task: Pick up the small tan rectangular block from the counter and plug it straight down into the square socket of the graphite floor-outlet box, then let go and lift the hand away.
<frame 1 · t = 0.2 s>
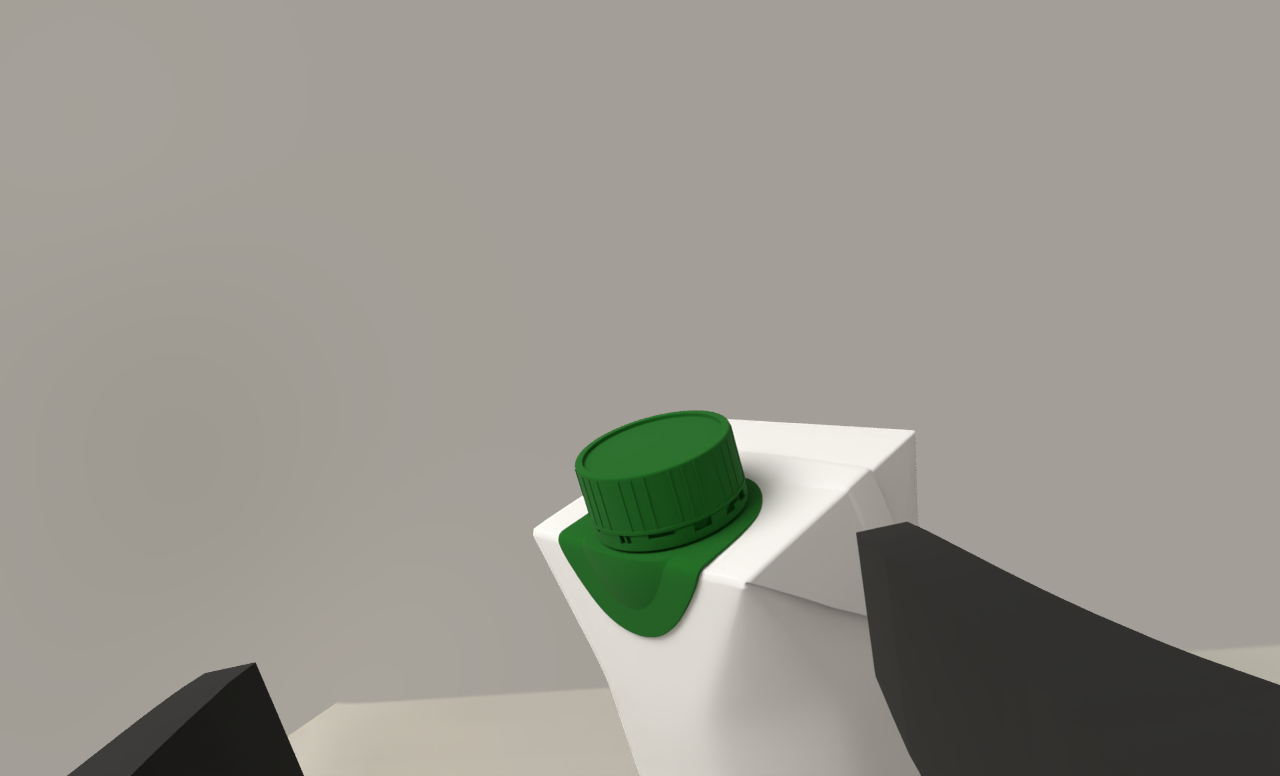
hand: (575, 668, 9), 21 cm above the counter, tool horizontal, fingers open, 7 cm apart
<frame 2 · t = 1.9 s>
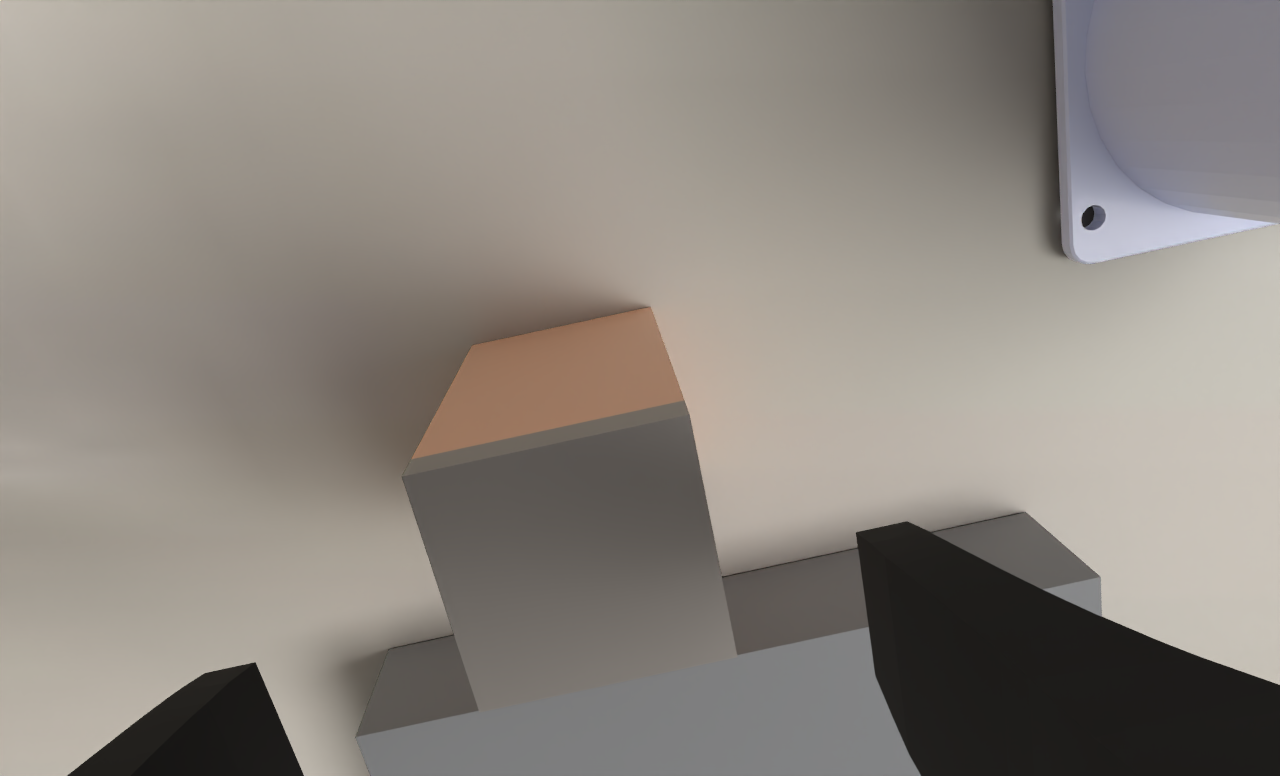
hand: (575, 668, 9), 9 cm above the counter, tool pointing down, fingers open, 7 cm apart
tan rectangular block: (581, 410, 18), on the counter
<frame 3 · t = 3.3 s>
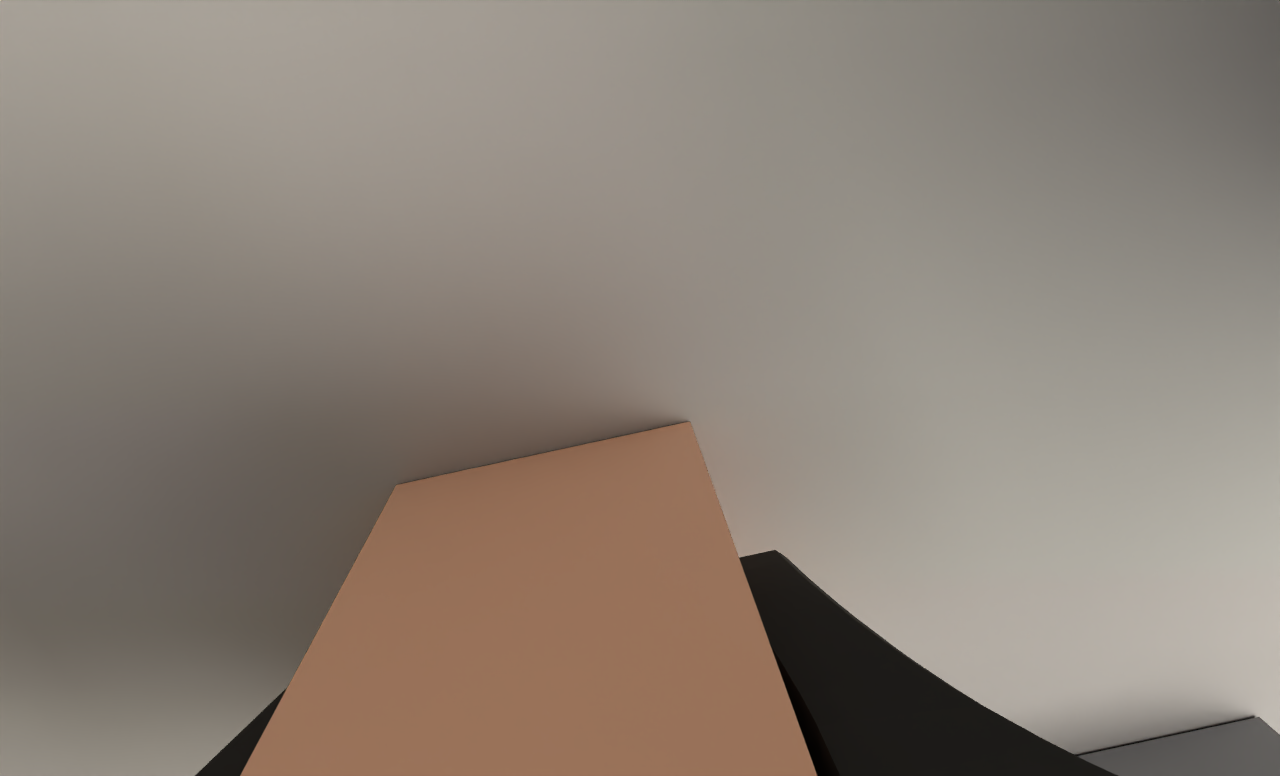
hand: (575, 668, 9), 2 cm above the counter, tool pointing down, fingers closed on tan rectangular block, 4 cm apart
tan rectangular block: (576, 581, 11), on the counter, touching gripper
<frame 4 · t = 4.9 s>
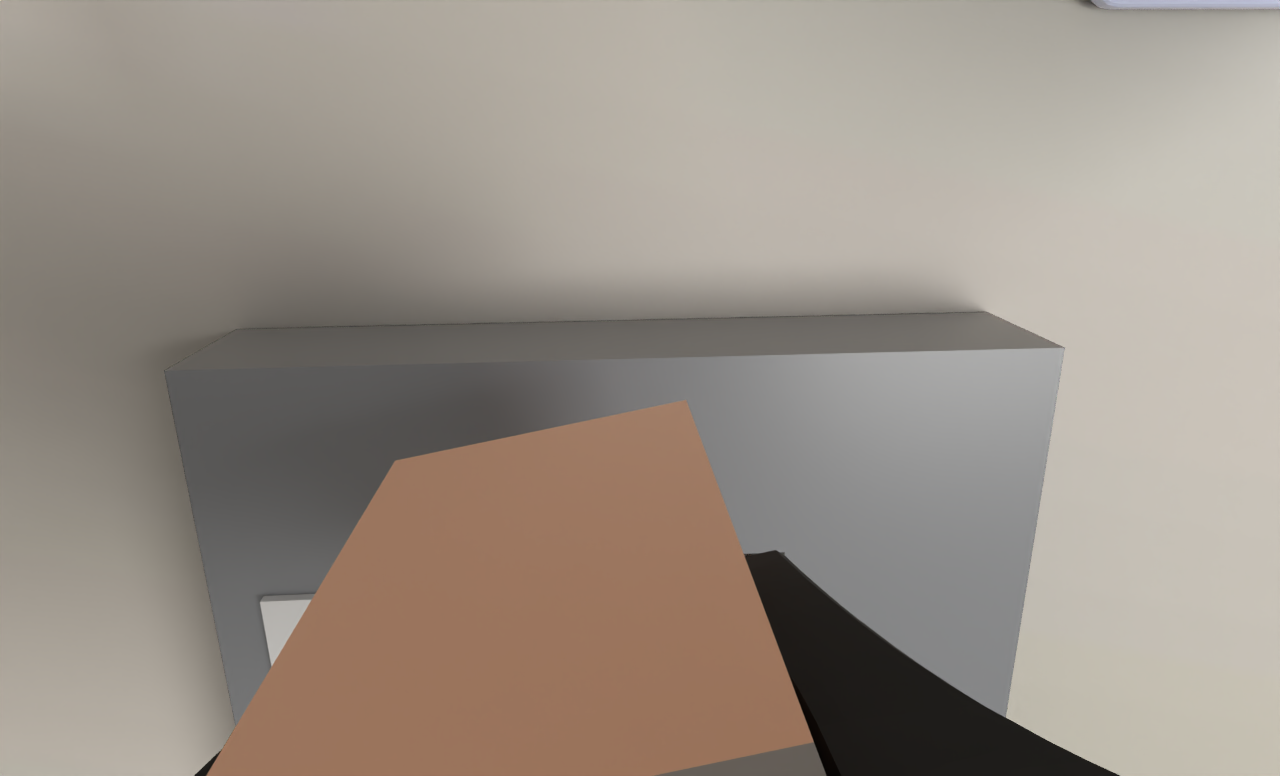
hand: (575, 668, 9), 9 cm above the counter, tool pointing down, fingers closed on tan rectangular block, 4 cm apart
outlet box: (626, 605, 19), on the counter
tan rectangular block: (573, 559, 11), point 7 cm above the counter, touching gripper
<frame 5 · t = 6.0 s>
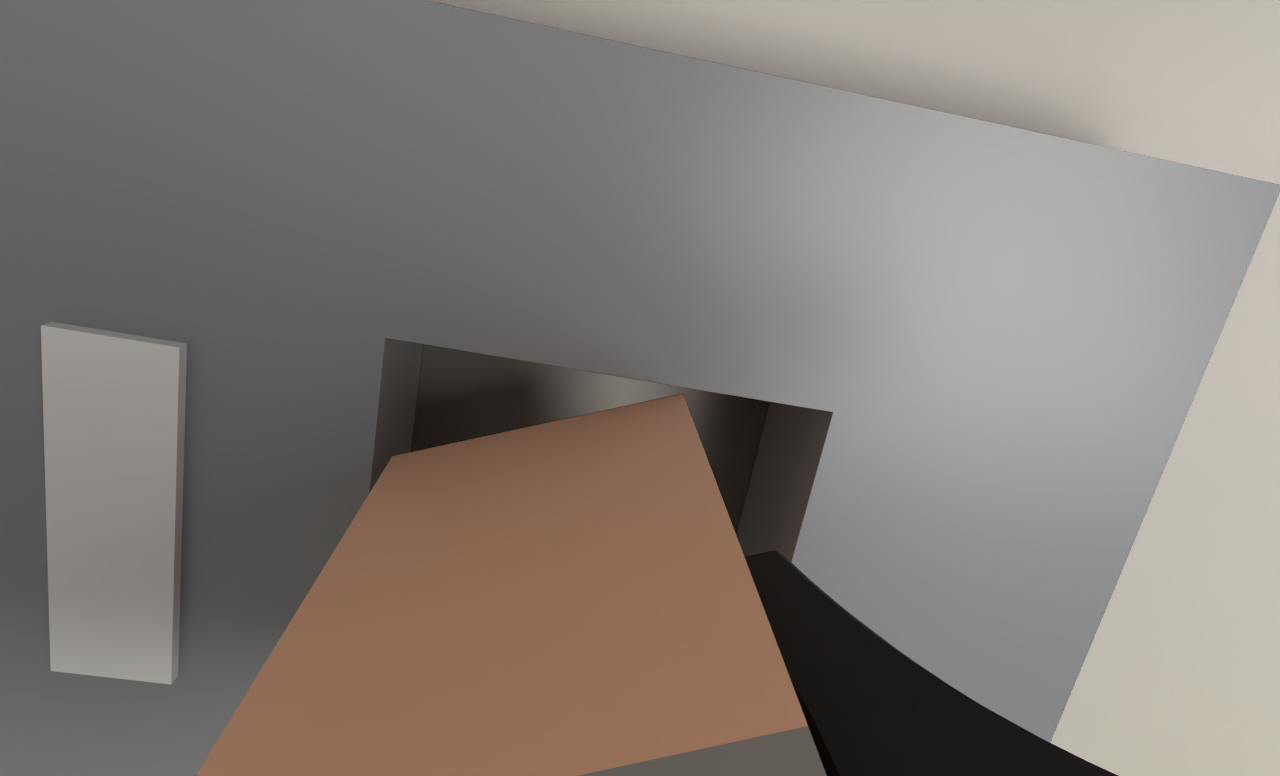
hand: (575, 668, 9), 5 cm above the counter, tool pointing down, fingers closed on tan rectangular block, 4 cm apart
outlet box: (580, 485, 14), on the counter
tan rectangular block: (571, 554, 11), point 3 cm above the counter, touching gripper
when the fingers open (4 cm above the counter, at t = 6.7 s): tan rectangular block drops 2 cm, resting in outlet box.
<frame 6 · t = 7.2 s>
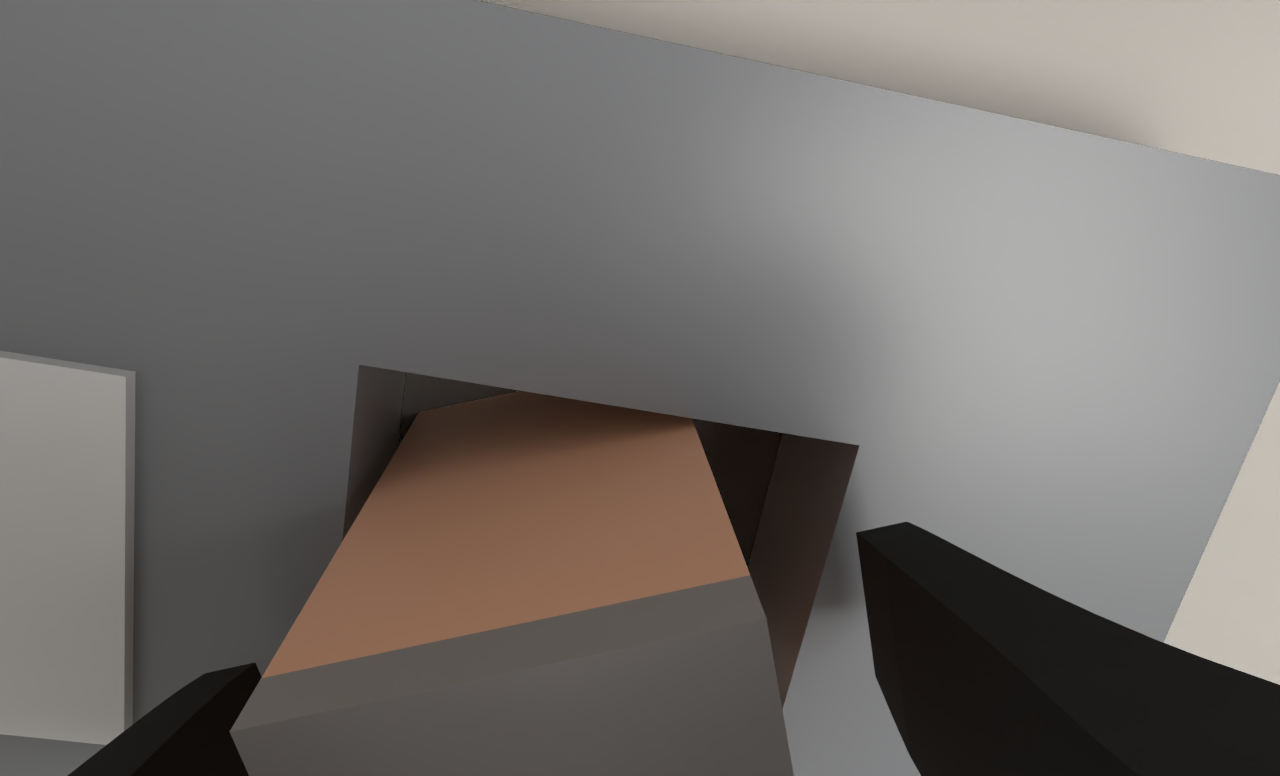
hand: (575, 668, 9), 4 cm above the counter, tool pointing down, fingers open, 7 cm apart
outlet box: (578, 517, 13), on the counter
tan rectangular block: (572, 499, 13), resting in outlet box
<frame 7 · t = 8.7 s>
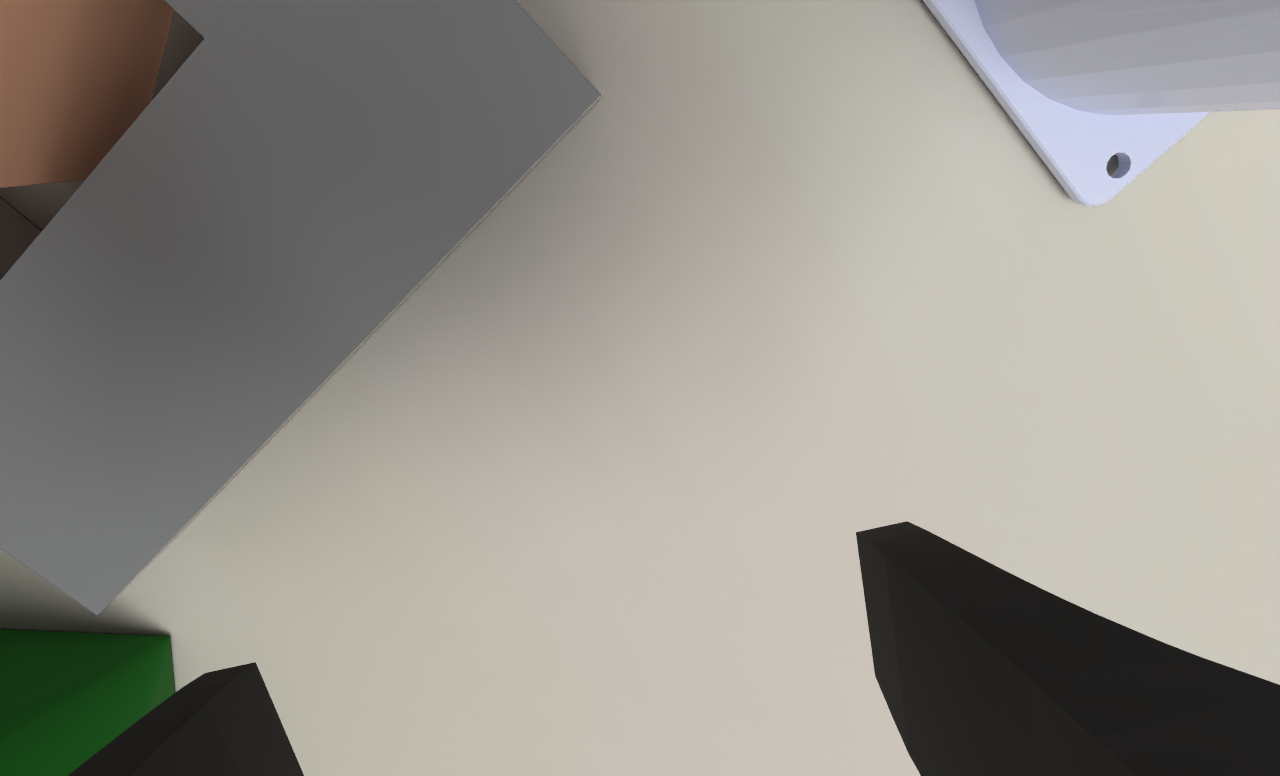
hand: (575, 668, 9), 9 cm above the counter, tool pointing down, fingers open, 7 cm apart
outlet box: (46, 49, 15), on the counter
tan rectangular block: (50, 33, 15), resting in outlet box
milk carton: (37, 739, 20), on the counter
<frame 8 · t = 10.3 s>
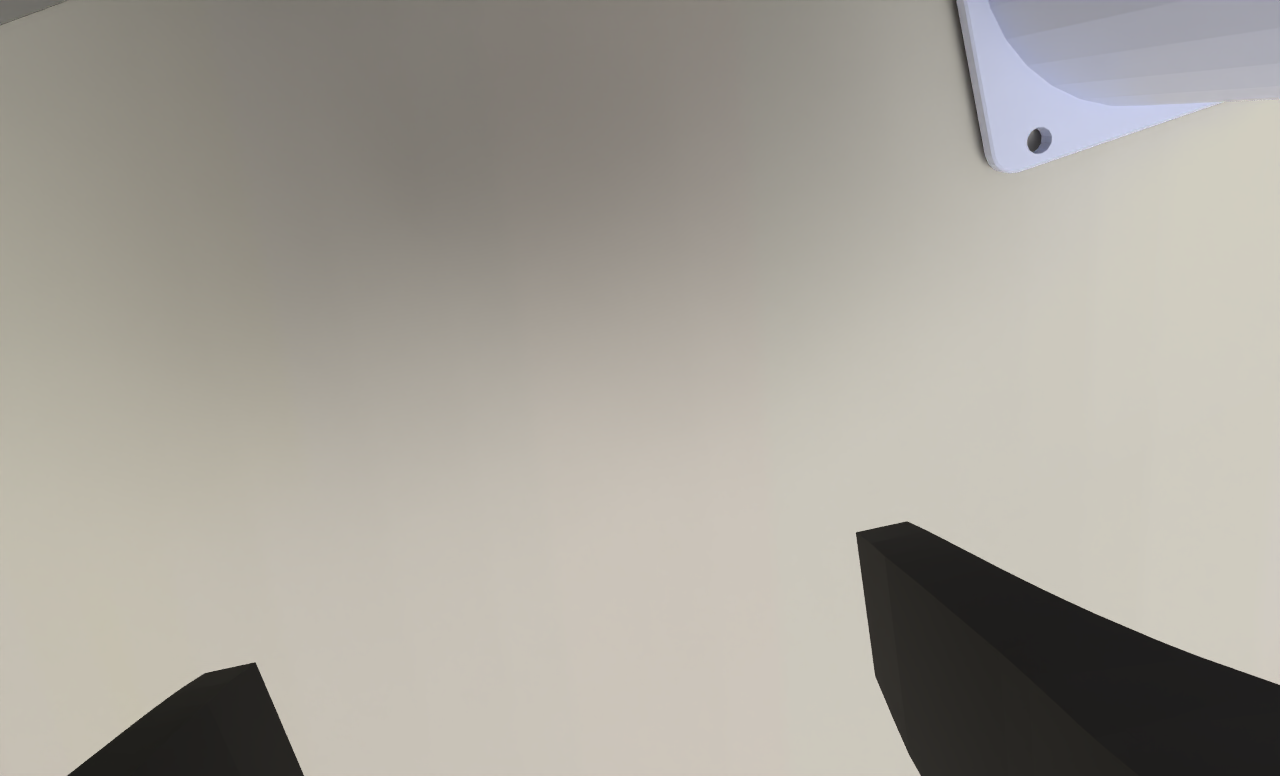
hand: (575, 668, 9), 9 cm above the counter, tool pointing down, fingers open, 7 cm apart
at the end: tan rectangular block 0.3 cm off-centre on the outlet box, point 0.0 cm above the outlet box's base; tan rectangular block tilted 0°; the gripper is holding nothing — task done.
